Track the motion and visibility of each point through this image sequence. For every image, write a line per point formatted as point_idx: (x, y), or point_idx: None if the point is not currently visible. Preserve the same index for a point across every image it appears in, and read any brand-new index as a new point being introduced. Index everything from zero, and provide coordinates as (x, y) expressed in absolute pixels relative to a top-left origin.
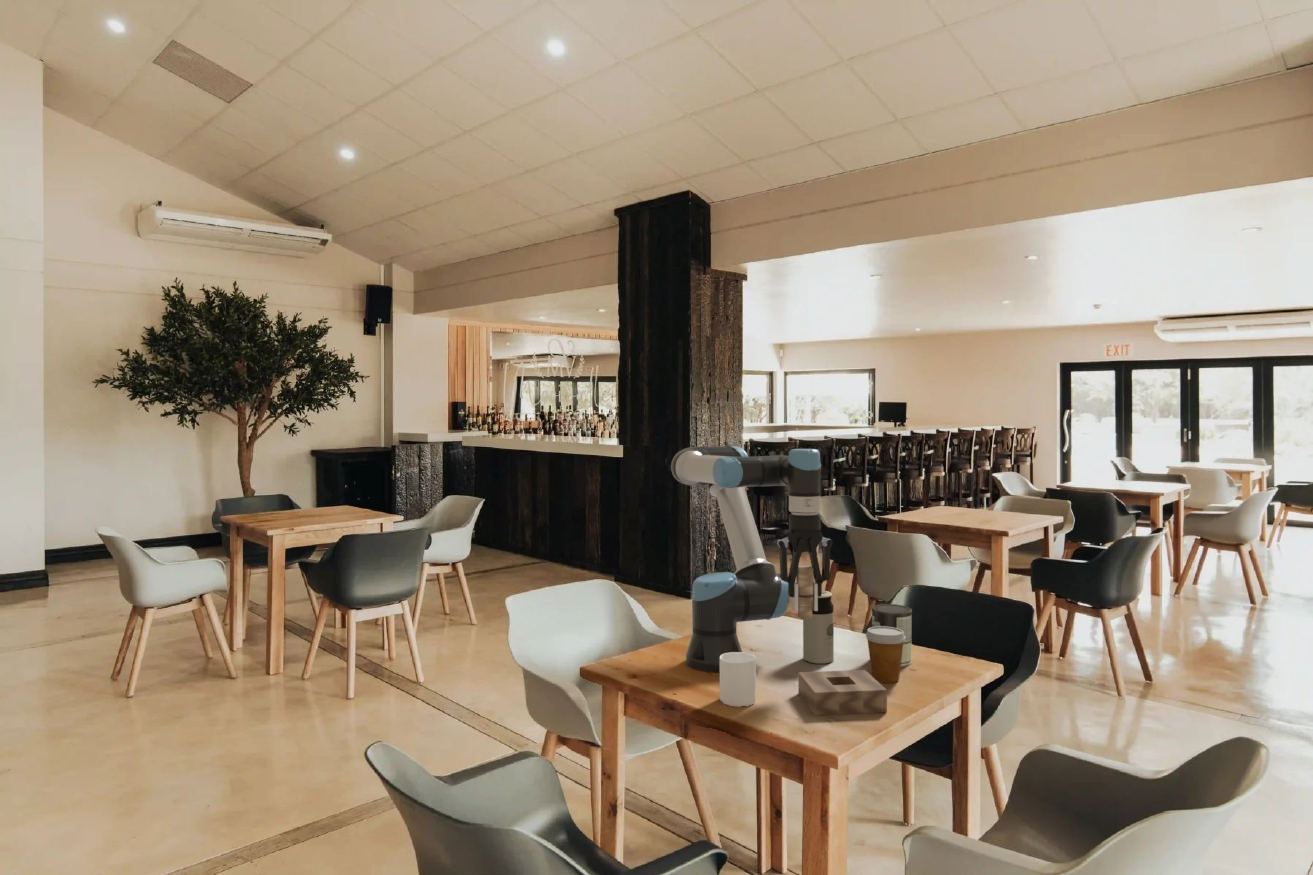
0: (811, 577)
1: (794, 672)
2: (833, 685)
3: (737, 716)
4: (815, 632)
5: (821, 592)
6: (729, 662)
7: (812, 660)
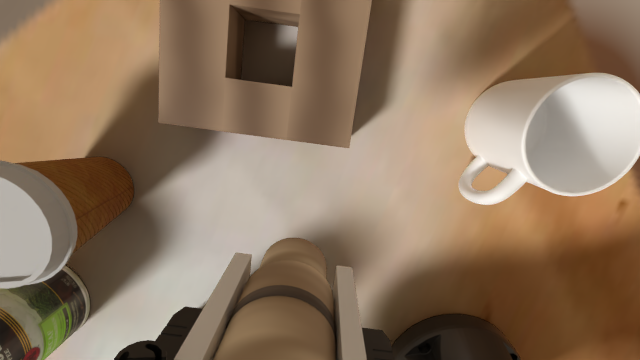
0: None
1: None
2: (299, 10)
3: (552, 24)
4: None
5: (169, 321)
6: (637, 91)
7: None
